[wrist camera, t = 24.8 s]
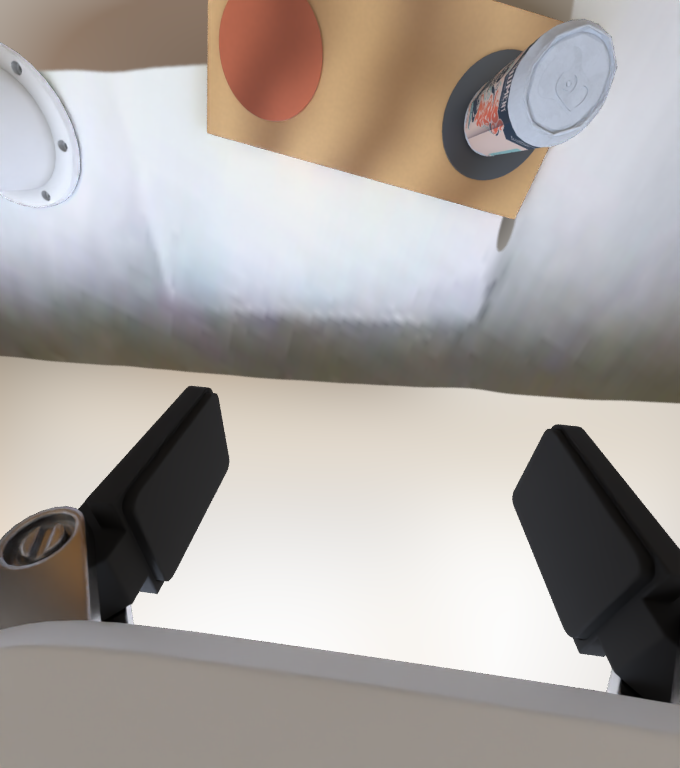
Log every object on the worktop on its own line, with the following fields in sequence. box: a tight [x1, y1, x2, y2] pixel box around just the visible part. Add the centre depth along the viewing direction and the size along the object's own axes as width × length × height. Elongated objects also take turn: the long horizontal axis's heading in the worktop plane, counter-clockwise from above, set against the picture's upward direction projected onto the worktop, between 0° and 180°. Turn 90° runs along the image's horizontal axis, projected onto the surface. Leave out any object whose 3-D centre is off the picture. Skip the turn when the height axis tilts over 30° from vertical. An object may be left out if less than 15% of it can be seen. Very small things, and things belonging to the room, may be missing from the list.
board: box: [207, 0, 565, 219], centre depth 26 cm, size 28×12×2 cm, turn 77°
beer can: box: [464, 19, 617, 156], centre depth 21 cm, size 5×5×12 cm
